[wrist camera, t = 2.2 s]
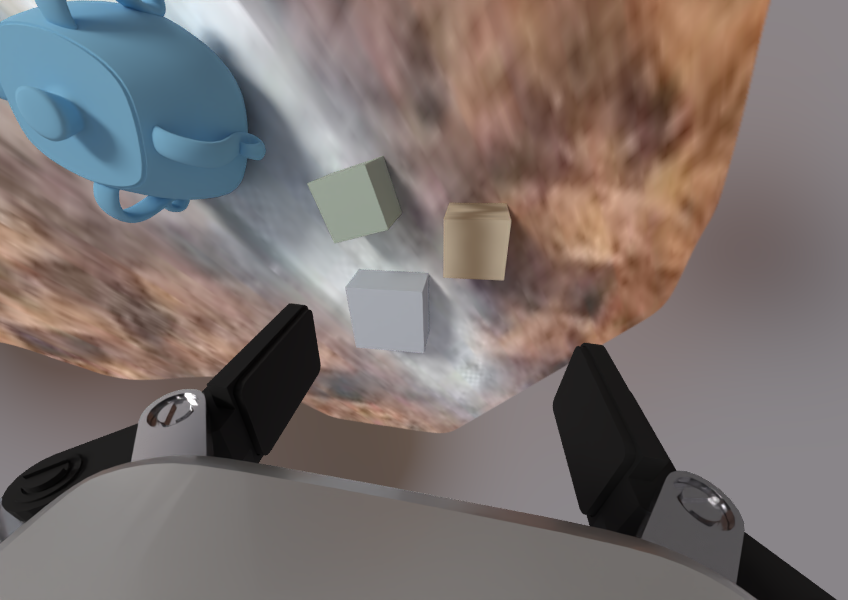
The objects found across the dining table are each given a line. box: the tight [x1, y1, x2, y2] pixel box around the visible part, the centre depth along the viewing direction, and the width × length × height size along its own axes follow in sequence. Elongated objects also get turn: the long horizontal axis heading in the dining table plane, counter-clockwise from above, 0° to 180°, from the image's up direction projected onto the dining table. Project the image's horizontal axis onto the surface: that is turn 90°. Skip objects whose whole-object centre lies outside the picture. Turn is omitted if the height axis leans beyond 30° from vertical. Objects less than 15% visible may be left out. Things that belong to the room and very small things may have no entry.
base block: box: [345, 269, 429, 353], centre depth 39 cm, size 9×9×5 cm
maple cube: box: [443, 203, 511, 280], centre depth 31 cm, size 6×6×6 cm
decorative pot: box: [0, 0, 266, 223], centre depth 26 cm, size 16×16×14 cm
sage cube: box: [307, 156, 402, 243], centre depth 31 cm, size 6×6×6 cm
